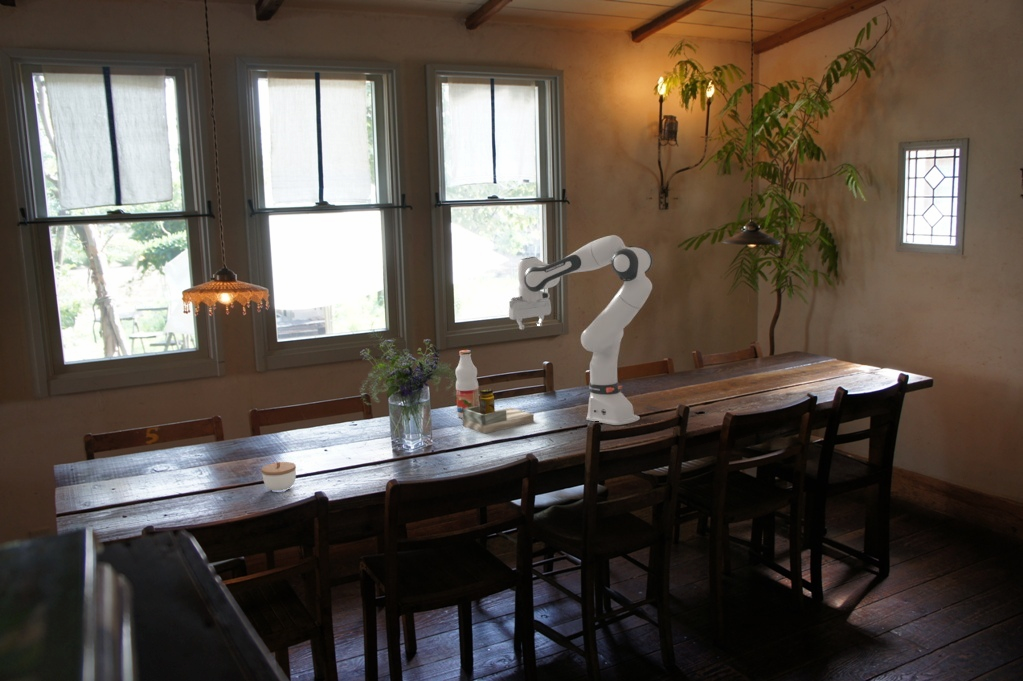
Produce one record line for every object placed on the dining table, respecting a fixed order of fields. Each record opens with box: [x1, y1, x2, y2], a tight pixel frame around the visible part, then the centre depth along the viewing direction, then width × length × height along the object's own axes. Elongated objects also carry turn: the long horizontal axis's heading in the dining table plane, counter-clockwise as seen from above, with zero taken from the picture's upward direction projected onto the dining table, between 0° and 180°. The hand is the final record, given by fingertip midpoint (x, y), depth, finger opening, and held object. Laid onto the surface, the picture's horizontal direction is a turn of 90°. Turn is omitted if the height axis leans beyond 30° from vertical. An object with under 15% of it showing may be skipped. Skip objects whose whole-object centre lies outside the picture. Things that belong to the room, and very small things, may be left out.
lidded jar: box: [261, 461, 297, 491], centre depth 278 cm, size 11×11×9 cm
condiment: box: [479, 388, 496, 415], centre depth 341 cm, size 7×8×12 cm
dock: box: [461, 406, 535, 434], centre depth 345 cm, size 16×24×7 cm, turn 126°
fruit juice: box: [454, 349, 480, 419], centre depth 358 cm, size 9×9×28 cm
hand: (530, 327), depth 363 cm, fingers open, 8 cm apart
